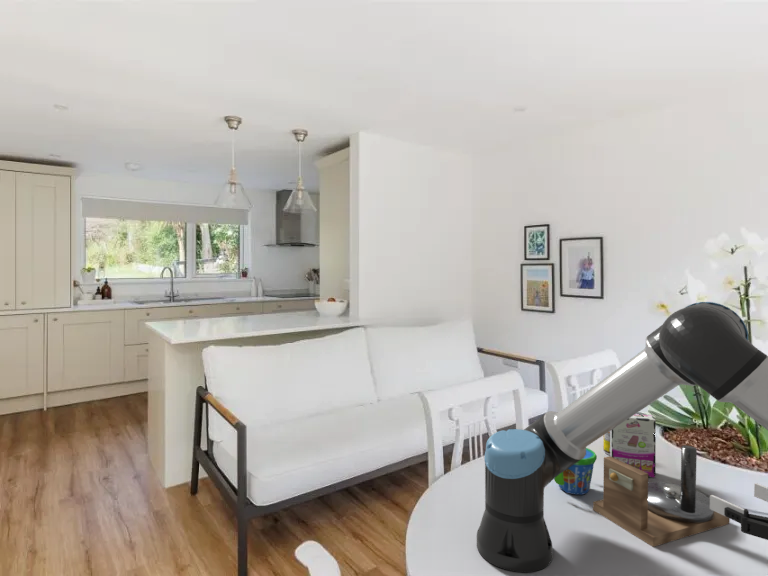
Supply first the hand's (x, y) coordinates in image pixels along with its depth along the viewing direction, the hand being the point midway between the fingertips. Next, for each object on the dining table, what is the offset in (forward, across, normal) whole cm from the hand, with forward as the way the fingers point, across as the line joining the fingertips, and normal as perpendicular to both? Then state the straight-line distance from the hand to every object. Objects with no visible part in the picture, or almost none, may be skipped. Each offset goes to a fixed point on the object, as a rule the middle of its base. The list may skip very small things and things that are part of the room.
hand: (733, 495), depth 93 cm
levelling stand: (+15, -1, -12) cm, 20 cm away
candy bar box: (+35, +13, -12) cm, 40 cm away
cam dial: (+15, +3, -10) cm, 18 cm away
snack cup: (+33, -10, -12) cm, 37 cm away
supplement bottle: (+47, +19, -12) cm, 53 cm away
